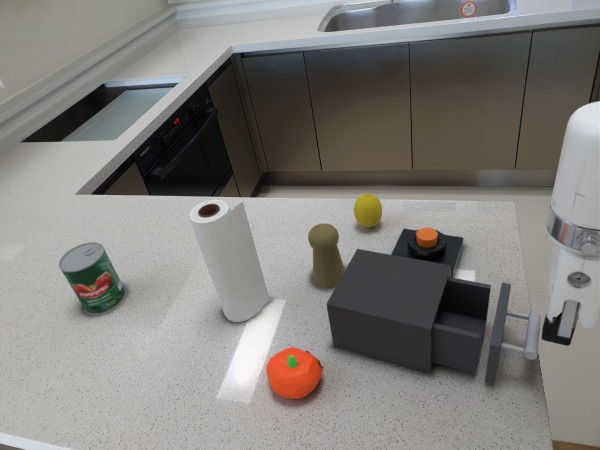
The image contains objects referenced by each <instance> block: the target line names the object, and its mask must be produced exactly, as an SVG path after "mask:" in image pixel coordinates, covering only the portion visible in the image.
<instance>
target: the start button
mask: <svg viewBox="0 0 600 450" xmlns="http://www.w3.org/2000/svg"><path fill="white" fill-rule="evenodd" d="M417 230H418V231H417V233H416V242H417V244H418V245H419V246H421V247H426V248H428V247H434V246H435V245H436V244H437V242H438V233H437V231H438V230H437V229H434V228H432V227H422V228H419V229H417ZM436 230H437V231H436Z"/></svg>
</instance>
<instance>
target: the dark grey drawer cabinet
mask: <svg viewBox="0 0 600 450" xmlns="http://www.w3.org/2000/svg"><path fill="white" fill-rule="evenodd" d="M448 277H451V265H445V264H440V263H434V262H429V261H423V260H417V259H412V258H406V257H401V256H395V255H391V254H389V253H383V252H378V251H372V250H367V249H361V248H356V250H355V252H354V254H353V255H352V257H351V259H350V261H349V262H348V264H347V266H346V267H345V271H344V273H343V275H342V277H341V279H340V280H339V282H338V284H337V286H336V287H334V288H333V291H332V293H331V295H330V297H328V300H327V302H326V310H327V315H328V322H329V327H330V333H331V339H332V346H333V348H335V349H338V350H342V351H346V352H350V353H353V354H355V355H356V354H357V355H360V356H363V357H366V358H367V357H368V358H371V359H374V360H377V361H381V362H385V363H388V364H392V365H395V366H397V367H398V366H399V367H402V368H406V369H409V370H413V371H417V372H420V373H424V374H427V375H431V373H432V370H433V366H434V364H435V363H434V362H432V328H433V325H434V322H435V319H436V315H437V312H438V309H439V306H440V303H441V300H442V296H443V293H444V290H445V287H446V284H447V281H448Z"/></svg>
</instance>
